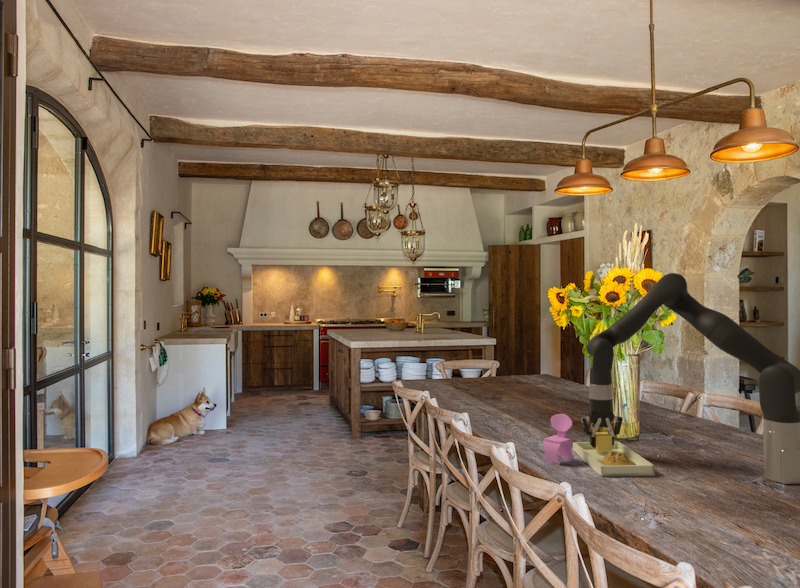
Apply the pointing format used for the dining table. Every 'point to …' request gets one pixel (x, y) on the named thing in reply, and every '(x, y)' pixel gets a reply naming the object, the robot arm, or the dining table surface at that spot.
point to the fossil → (616, 459)
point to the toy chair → (558, 439)
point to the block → (603, 441)
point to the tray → (596, 463)
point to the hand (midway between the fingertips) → (601, 446)
